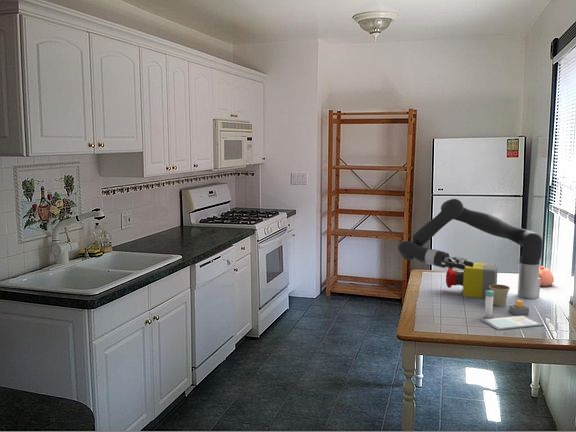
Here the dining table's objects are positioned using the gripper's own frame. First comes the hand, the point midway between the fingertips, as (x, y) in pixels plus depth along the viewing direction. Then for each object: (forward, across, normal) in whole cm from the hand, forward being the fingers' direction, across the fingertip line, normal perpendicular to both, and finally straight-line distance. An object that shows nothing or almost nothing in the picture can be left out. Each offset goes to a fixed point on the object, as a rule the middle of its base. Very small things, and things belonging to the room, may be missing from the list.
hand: (469, 266), depth 250 cm
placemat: (+23, 0, +20) cm, 30 cm away
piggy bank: (+10, +72, +19) cm, 75 cm away
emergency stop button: (-11, +31, +22) cm, 40 cm away
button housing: (+20, +16, +20) cm, 32 cm away
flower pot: (+7, +23, +21) cm, 32 cm away
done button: (+19, +16, +18) cm, 31 cm away
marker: (+12, 0, +21) cm, 24 cm away
